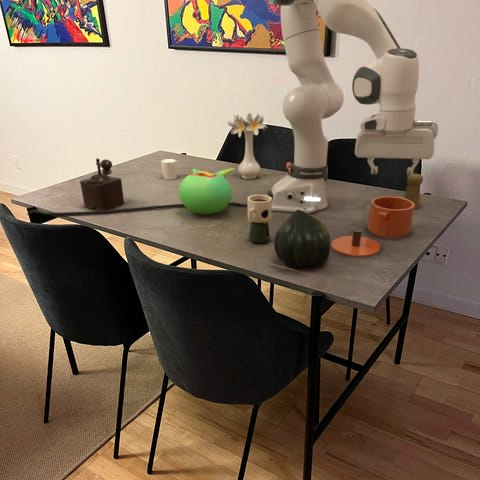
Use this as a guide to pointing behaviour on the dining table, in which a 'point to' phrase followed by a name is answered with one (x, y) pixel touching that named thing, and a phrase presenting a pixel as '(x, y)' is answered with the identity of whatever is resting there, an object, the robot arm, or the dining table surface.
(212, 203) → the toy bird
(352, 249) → the lid
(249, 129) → the flower vase
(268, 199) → the character mug
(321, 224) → the squash
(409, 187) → the cork
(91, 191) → the coffee grinder
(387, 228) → the pot
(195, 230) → the dining table surface
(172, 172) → the white short cylinder
